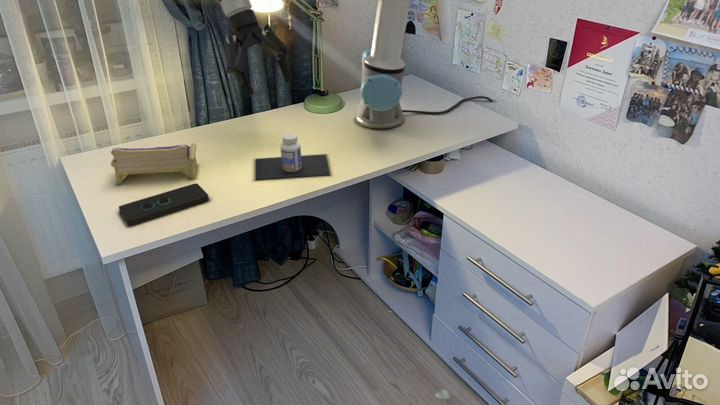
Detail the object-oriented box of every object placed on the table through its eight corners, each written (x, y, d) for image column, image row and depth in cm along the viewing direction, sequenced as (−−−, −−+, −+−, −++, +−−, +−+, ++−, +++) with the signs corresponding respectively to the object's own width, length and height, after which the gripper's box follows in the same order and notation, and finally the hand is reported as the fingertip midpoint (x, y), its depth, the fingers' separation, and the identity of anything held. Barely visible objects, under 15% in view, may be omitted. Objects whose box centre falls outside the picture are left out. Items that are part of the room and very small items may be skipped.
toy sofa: (199, 164, 158) (194, 131, 153) (197, 179, 151) (191, 145, 146) (122, 169, 156) (113, 136, 150) (115, 185, 148) (106, 150, 143)
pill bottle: (294, 161, 159) (292, 129, 154) (305, 168, 156) (303, 136, 151) (278, 167, 156) (275, 135, 151) (289, 174, 153) (286, 142, 148)
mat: (325, 155, 163) (325, 154, 163) (330, 175, 153) (330, 174, 153) (255, 159, 161) (255, 158, 161) (255, 180, 151) (255, 179, 151)
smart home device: (117, 205, 137) (196, 181, 147) (119, 211, 137) (197, 187, 147) (127, 221, 131) (209, 195, 141) (129, 227, 132) (210, 201, 142)
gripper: (269, 8, 163) (297, 78, 167) (194, 28, 148) (227, 104, 152) (282, -1, 157) (311, 72, 161) (205, 18, 142) (240, 98, 146)
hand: (270, 88), depth 157 cm, fingers open, 13 cm apart
